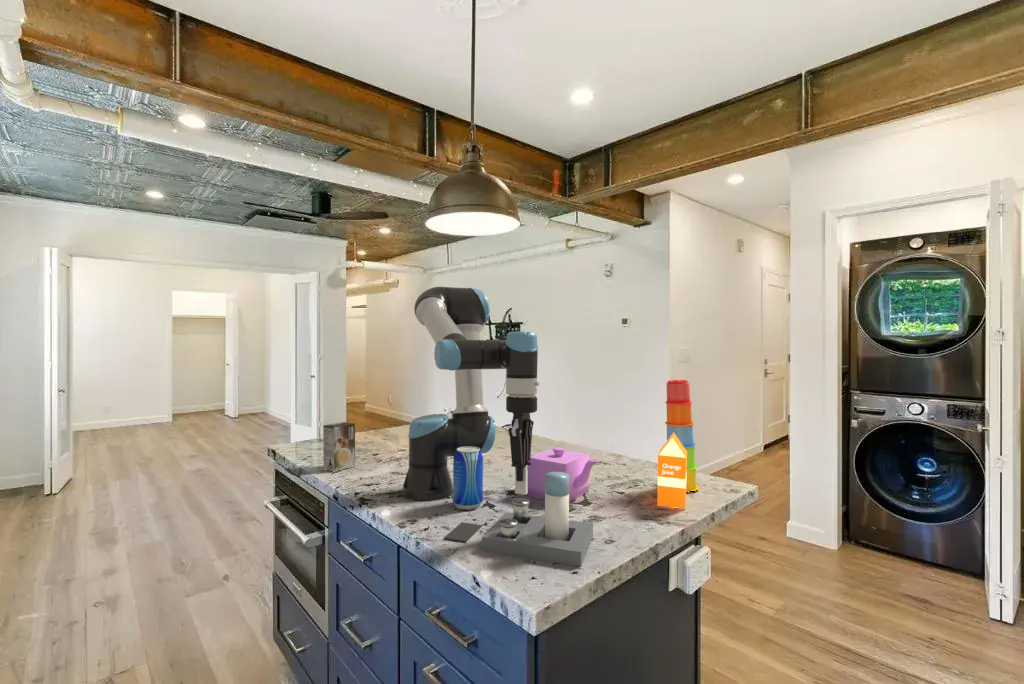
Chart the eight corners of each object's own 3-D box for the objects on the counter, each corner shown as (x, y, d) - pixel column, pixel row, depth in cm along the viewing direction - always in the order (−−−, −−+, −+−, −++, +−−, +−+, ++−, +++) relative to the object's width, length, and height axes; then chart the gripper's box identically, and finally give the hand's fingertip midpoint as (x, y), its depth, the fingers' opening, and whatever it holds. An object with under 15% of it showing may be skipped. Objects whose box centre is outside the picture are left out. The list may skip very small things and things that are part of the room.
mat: (443, 539, 111) (443, 537, 111) (461, 523, 120) (461, 522, 120) (483, 545, 107) (483, 543, 107) (498, 529, 117) (498, 527, 117)
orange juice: (656, 506, 134) (657, 436, 134) (659, 496, 143) (660, 430, 143) (686, 510, 132) (686, 438, 132) (686, 500, 140) (687, 432, 140)
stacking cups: (691, 495, 144) (692, 382, 144) (659, 488, 151) (660, 380, 151) (704, 488, 152) (705, 380, 152) (673, 481, 159) (674, 378, 159)
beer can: (485, 509, 131) (486, 451, 131) (455, 511, 128) (456, 453, 128) (479, 499, 139) (479, 444, 139) (450, 501, 137) (451, 446, 136)
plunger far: (509, 521, 113) (509, 502, 113) (514, 515, 117) (515, 497, 117) (526, 523, 111) (526, 504, 111) (531, 517, 115) (531, 499, 115)
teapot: (587, 510, 131) (588, 460, 131) (514, 493, 145) (514, 447, 145) (610, 496, 143) (610, 450, 143) (539, 481, 158) (540, 439, 158)
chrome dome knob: (496, 543, 104) (496, 523, 104) (502, 536, 108) (502, 517, 108) (514, 546, 103) (514, 526, 103) (520, 539, 107) (520, 519, 107)
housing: (481, 552, 104) (481, 536, 104) (505, 525, 119) (505, 512, 119) (580, 569, 97) (581, 552, 97) (592, 538, 112) (593, 523, 112)
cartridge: (541, 548, 105) (542, 477, 105) (547, 539, 110) (548, 470, 110) (565, 552, 103) (566, 479, 103) (570, 542, 108) (571, 473, 108)
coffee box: (344, 464, 176) (344, 421, 176) (355, 467, 172) (355, 423, 172) (322, 470, 168) (323, 425, 168) (333, 472, 165) (334, 427, 165)
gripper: (529, 398, 107) (528, 503, 106) (543, 393, 119) (543, 487, 119) (497, 397, 109) (497, 499, 109) (515, 392, 121) (514, 484, 121)
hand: (521, 493), depth 114 cm, fingers closed
